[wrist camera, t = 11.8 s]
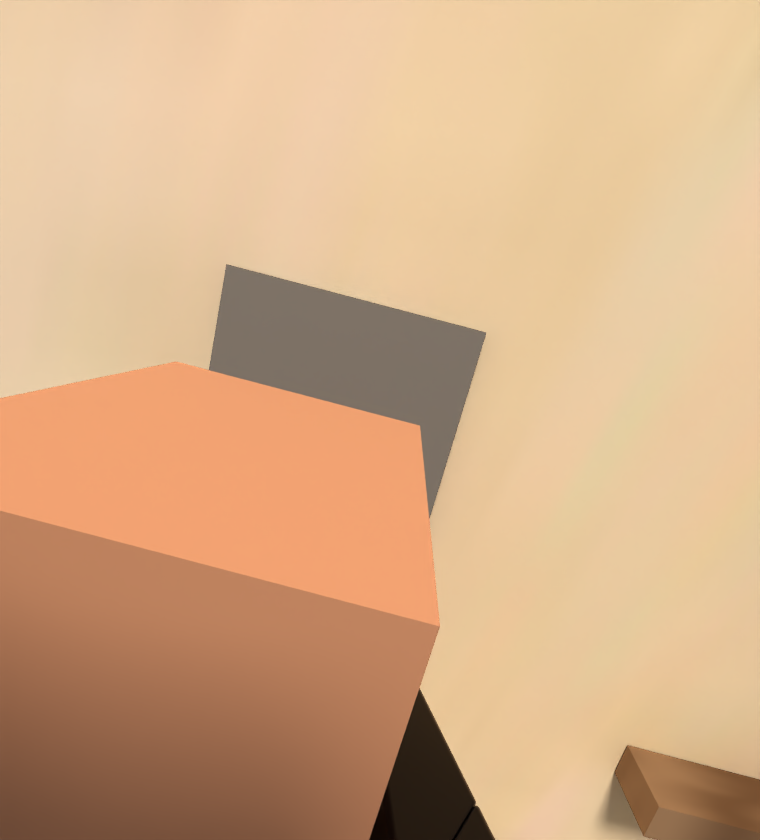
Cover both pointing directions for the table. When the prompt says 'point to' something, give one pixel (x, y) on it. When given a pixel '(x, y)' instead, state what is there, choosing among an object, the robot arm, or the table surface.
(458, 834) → the robot arm
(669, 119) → the table surface
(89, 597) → the terracotta blank
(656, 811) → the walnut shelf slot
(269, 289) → the charcoal mat
